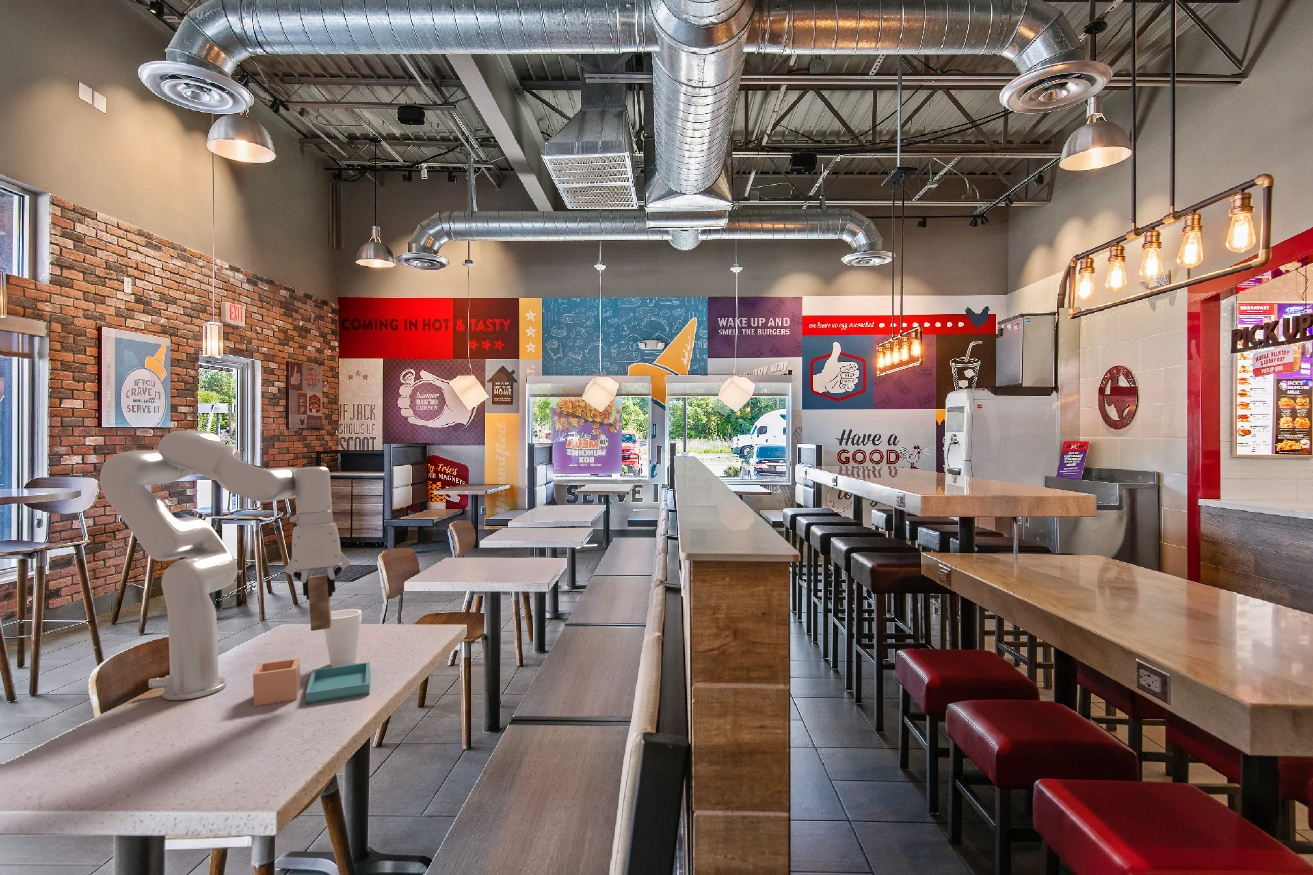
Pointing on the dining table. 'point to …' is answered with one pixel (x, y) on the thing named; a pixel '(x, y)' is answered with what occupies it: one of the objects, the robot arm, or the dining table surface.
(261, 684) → the holder cup
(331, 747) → the dining table surface
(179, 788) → the dining table surface
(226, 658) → the dining table surface
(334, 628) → the foam cup
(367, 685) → the tray
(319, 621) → the walnut stick
